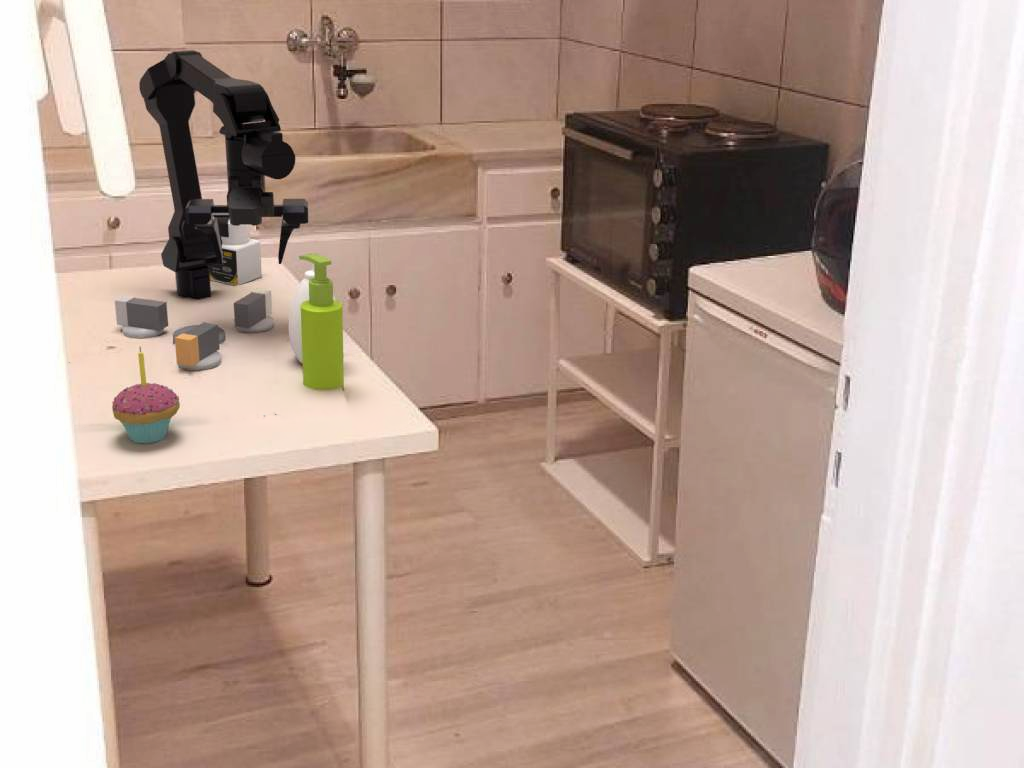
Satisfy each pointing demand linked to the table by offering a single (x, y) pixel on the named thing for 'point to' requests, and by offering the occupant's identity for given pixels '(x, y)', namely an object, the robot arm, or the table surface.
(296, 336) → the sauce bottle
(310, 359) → the soap dispenser
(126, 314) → the knob near
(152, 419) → the cupcake
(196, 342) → the knob
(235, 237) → the medicine bottle
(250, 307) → the knob
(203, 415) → the table surface
